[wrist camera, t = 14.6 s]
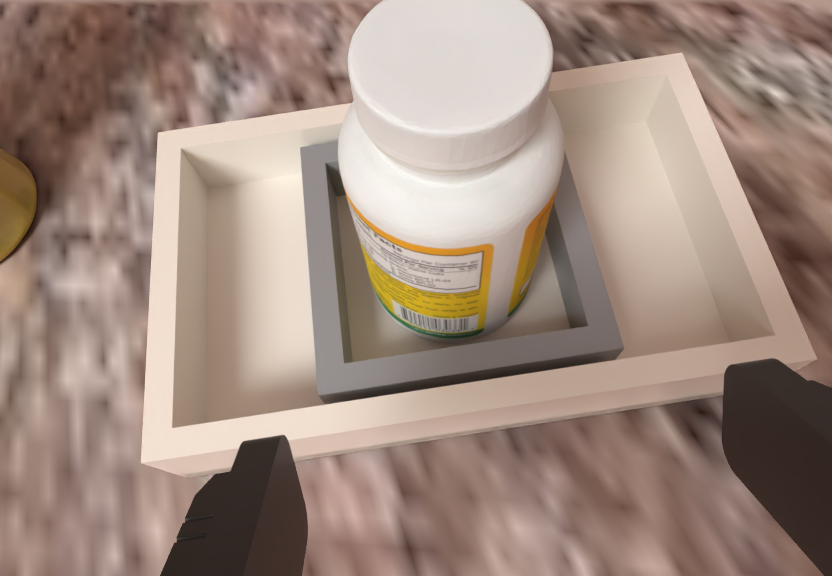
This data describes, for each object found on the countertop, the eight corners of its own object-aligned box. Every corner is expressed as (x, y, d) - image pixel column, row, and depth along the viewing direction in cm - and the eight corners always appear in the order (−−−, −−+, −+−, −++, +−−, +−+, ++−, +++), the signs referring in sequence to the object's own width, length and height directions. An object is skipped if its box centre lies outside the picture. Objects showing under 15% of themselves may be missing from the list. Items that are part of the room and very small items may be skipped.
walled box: (187, 477, 19) (140, 463, 16) (192, 183, 23) (157, 132, 20) (764, 388, 19) (817, 359, 16) (655, 112, 23) (682, 52, 21)
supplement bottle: (419, 376, 19) (386, 215, 10) (345, 246, 21) (264, 20, 12) (565, 297, 20) (649, 84, 11) (479, 179, 22) (492, -79, 13)
